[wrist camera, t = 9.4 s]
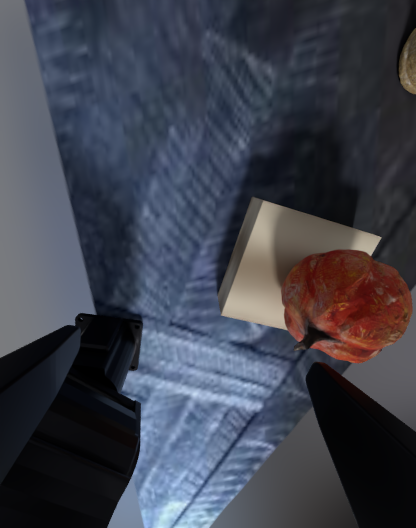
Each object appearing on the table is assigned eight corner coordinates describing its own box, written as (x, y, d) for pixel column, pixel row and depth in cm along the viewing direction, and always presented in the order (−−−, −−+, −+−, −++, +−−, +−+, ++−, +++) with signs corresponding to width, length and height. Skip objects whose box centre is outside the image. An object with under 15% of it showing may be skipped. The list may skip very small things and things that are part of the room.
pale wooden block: (303, 313, 24) (322, 337, 20) (217, 292, 23) (221, 315, 19) (348, 226, 21) (381, 237, 17) (250, 196, 19) (263, 200, 16)
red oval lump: (328, 221, 19) (253, 258, 13) (448, 245, 14) (412, 321, 8) (312, 292, 22) (247, 346, 16) (403, 332, 17) (355, 428, 12)
